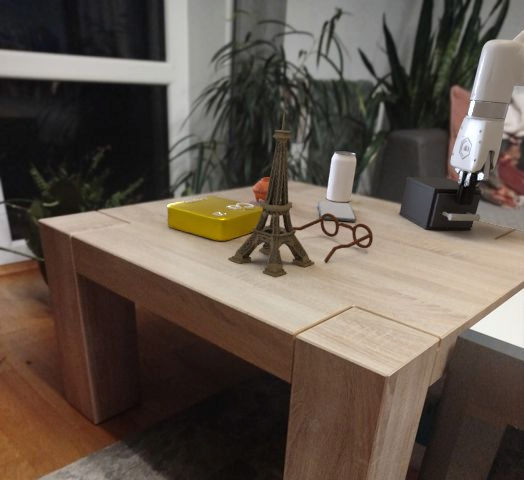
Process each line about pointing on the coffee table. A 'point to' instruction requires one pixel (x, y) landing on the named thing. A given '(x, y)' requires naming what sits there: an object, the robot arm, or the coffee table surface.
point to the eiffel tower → (275, 217)
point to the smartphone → (337, 211)
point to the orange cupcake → (261, 189)
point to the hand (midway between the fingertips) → (462, 203)
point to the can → (341, 177)
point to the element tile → (214, 217)
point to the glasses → (321, 220)
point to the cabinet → (426, 199)
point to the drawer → (453, 211)
